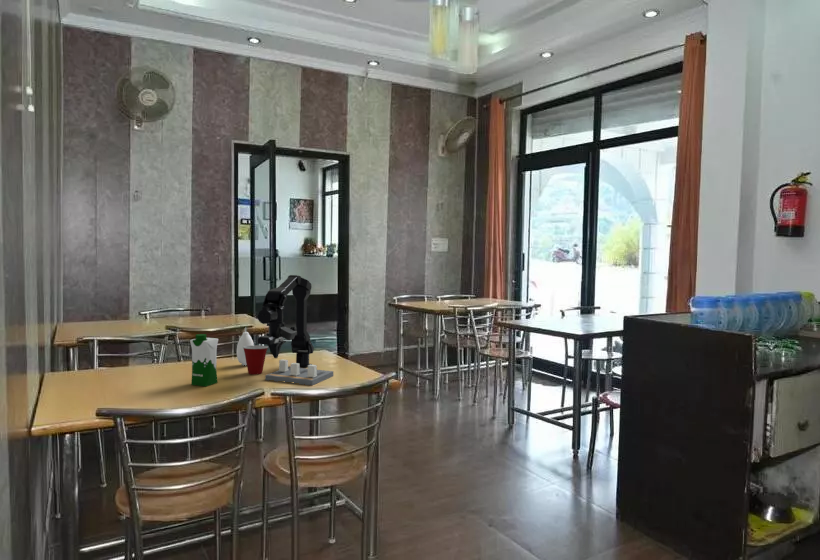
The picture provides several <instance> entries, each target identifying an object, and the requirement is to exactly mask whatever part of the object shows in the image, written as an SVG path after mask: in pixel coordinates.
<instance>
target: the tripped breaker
mask: <svg viewBox="0 0 820 560" xmlns="http://www.w3.org/2000/svg"><path fill="white" fill-rule="evenodd" d="M278 364H279V365H278V370H279V371H281V372H286V371H288V370H289V369H288V367H289V360H288V359H279V360H278Z"/></svg>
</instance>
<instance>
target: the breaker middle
mask: <svg viewBox="0 0 820 560" xmlns="http://www.w3.org/2000/svg"><path fill="white" fill-rule="evenodd" d="M290 367H291V373H290V375H295V376H297V375H299V374H300V373H299V372H300V368H301V367H300V363H296V362H292V363H290Z"/></svg>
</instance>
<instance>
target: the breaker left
mask: <svg viewBox="0 0 820 560" xmlns="http://www.w3.org/2000/svg"><path fill="white" fill-rule="evenodd" d="M317 366H318V365H316V364H312V365H308V367H307V369H308V375H307V377H313V378H314V377H316V376H317V370H318V367H317Z"/></svg>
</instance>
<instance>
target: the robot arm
mask: <svg viewBox="0 0 820 560" xmlns="http://www.w3.org/2000/svg"><path fill="white" fill-rule="evenodd" d="M312 288H313V287H312V283H311V282H310V280H308V279H306V278H304V277H302V276H300V275H299V274H290V275H288V276H287V278H286V279H285V280H284V281H283V282H282V283H281V284H280V285H279V286H278V287H274V288H271V289H269V290H267V291H266V294H265V297H264V300H263V303H262V304H261V305H262V306H261V307H262V308H261V310H259V311H258V314H257V320H258V322H259V323H260V324H263V325H266V327H268V332H267V333H266V335H261V336H258V337H257V338H256V345H264V346H268V348H269V350H270V353H271V355H272V357H273V359H278V357H279V354H280V353H281V352H280V351H281V349H282V346H283V345H284V344H285V343H286V342H287V341H291V342H290V346H291V352H292V354H294V353H295V354H296V355H295V363H300V368H308V365H313V363H310V355H311V354H314V349H315V348H314V346H313V343H312V341H311V336H310V334H309V332H308V330H307V327H308V323H307V321H308V320H307V318H308V317H307V316H308V315H307V314H308V313H307V311H308V309H307V308H308V307H307V306H308V305H307V304H308V299H309V296H310V295H311V290H312ZM290 293H292V296H293V297H294V299H295V326H291V327H287V326H286V325H287V323H286V322H284V310H285V308H286V307H285V306H284V305H285V303H286V301H287V300H288V298H287V296H288V295H289V294H290Z"/></svg>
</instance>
